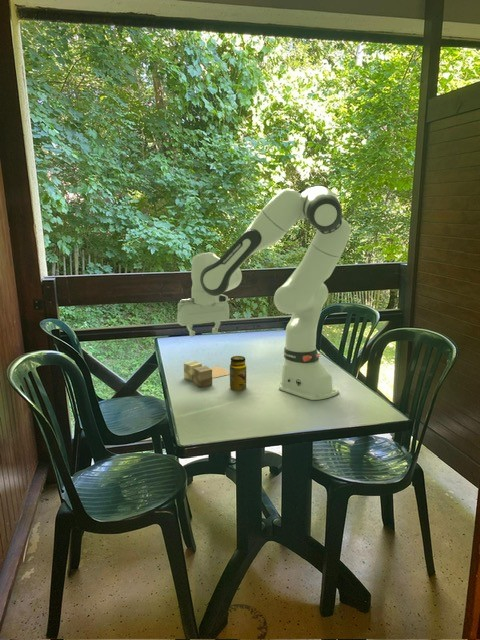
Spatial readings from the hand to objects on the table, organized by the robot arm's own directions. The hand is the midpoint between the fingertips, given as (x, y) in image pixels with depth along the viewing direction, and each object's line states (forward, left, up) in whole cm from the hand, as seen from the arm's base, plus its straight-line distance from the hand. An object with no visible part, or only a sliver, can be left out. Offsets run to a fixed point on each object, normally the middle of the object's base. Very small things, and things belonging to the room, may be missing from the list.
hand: (203, 334), depth 159 cm
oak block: (+7, +1, -19) cm, 20 cm away
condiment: (-11, -7, -20) cm, 23 cm away
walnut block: (-1, +1, -19) cm, 19 cm away
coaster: (+8, -9, -19) cm, 23 cm away
